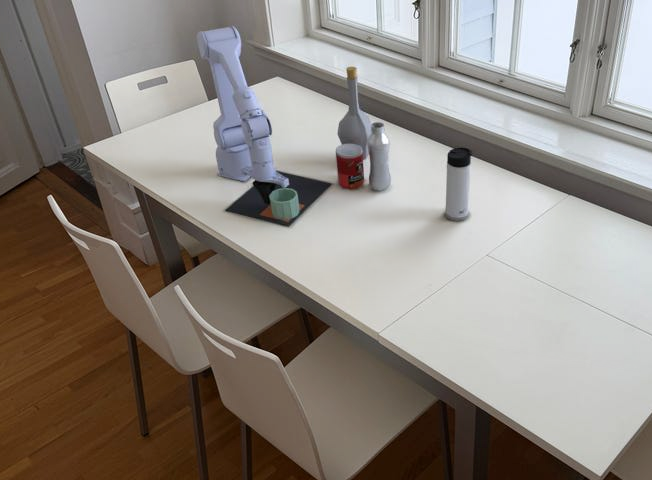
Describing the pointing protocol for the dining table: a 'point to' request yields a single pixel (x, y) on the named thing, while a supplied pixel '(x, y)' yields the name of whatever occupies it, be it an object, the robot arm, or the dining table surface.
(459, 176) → the travel mug
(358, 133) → the bottle
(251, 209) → the mat
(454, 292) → the dining table surface
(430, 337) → the dining table surface
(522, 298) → the dining table surface
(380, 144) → the silver smooth rounded piece
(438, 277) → the dining table surface
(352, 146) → the canned food
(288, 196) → the cup
